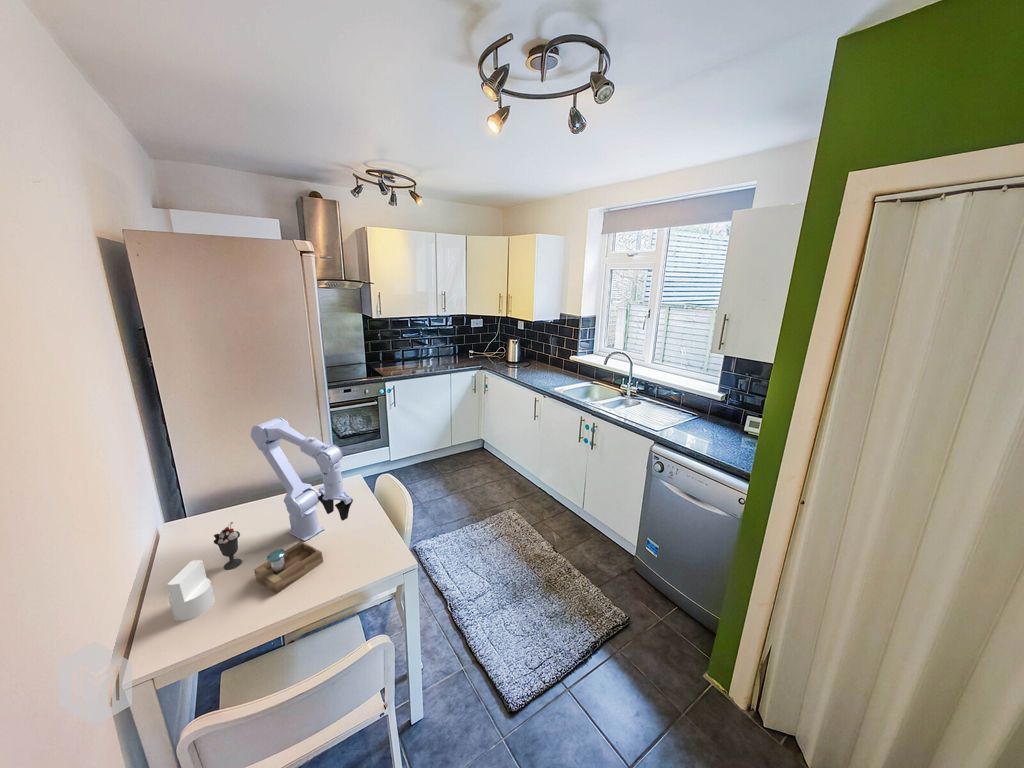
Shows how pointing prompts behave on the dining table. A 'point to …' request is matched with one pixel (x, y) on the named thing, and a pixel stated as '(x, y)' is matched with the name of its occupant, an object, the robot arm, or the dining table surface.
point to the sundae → (228, 546)
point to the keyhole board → (290, 567)
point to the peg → (277, 561)
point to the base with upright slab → (190, 592)
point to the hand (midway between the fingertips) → (337, 515)
